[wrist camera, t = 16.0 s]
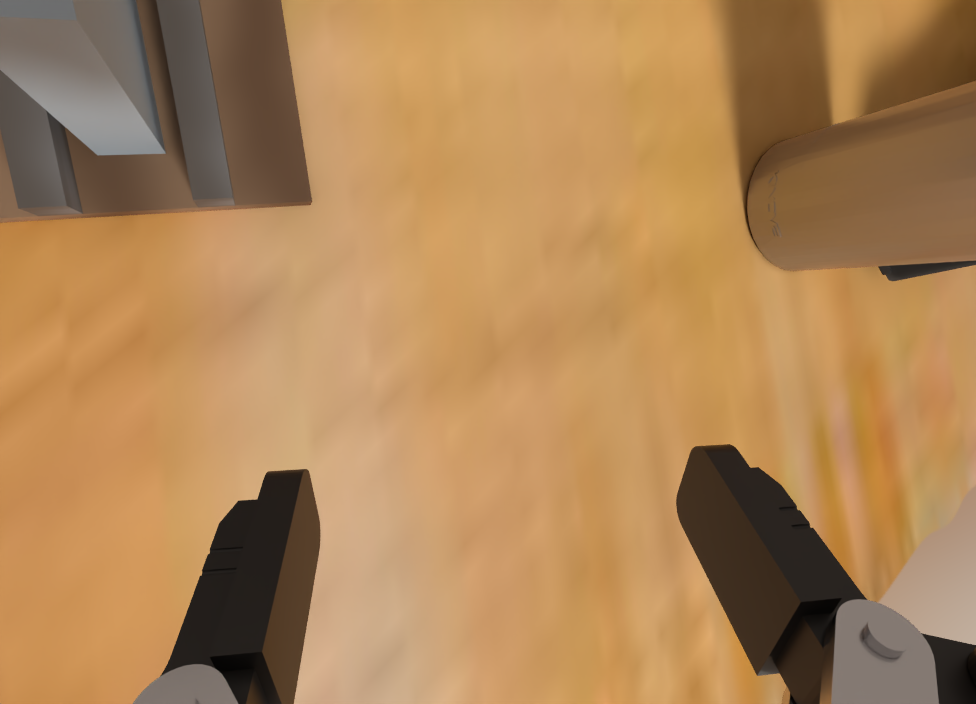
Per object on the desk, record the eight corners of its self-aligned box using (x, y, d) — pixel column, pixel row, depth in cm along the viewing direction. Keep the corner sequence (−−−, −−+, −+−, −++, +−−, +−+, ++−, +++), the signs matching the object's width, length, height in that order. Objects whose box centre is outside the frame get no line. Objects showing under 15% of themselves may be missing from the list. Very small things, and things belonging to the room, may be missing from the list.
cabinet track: (265, -84, 25) (265, -133, 22) (310, 204, 27) (315, 193, 24) (-142, -135, 20) (-208, -205, 17) (-54, 225, 22) (-101, 214, 19)
